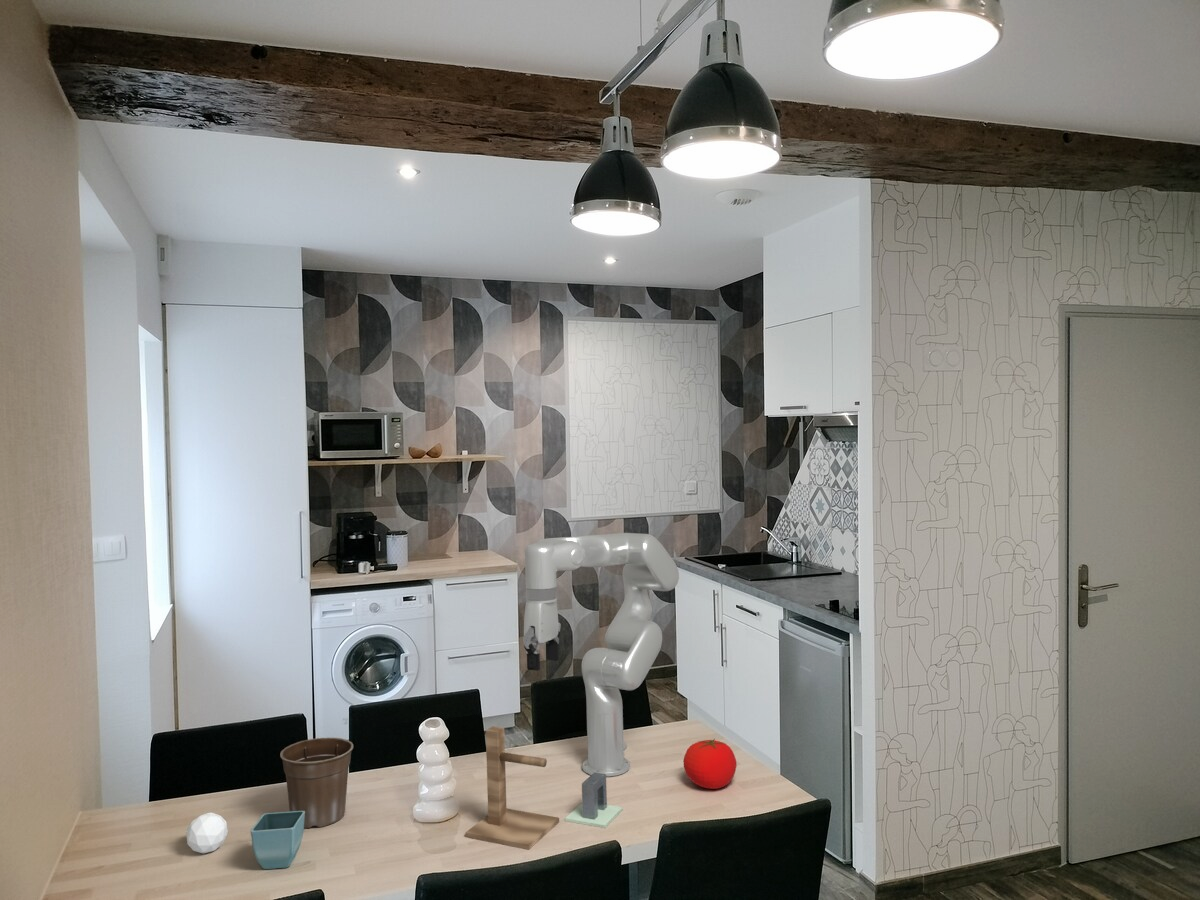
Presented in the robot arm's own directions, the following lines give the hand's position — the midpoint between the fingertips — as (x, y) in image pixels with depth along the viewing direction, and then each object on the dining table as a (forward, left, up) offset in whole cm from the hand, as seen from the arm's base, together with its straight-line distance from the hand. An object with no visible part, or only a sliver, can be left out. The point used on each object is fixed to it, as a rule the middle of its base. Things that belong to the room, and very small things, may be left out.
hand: (543, 664), depth 203 cm
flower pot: (+49, -37, -33) cm, 70 cm away
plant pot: (+29, -45, -32) cm, 63 cm away
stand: (+18, +1, -32) cm, 37 cm away
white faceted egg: (+50, -58, -33) cm, 83 cm away
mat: (+5, +15, -32) cm, 36 cm away
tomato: (-21, +35, -32) cm, 52 cm away
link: (+5, +15, -32) cm, 35 cm away
